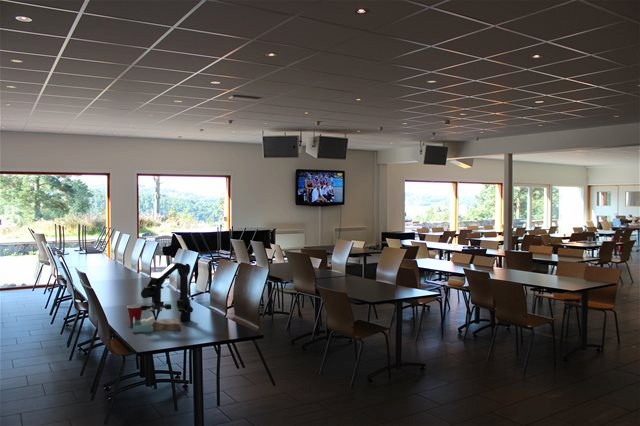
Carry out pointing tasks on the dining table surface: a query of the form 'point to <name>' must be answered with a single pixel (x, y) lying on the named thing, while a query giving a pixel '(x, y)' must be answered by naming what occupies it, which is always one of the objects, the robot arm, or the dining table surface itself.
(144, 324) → the tile
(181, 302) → the robot arm
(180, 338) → the dining table surface
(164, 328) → the walnut plate
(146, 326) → the box
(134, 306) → the plastic cup
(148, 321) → the tile
